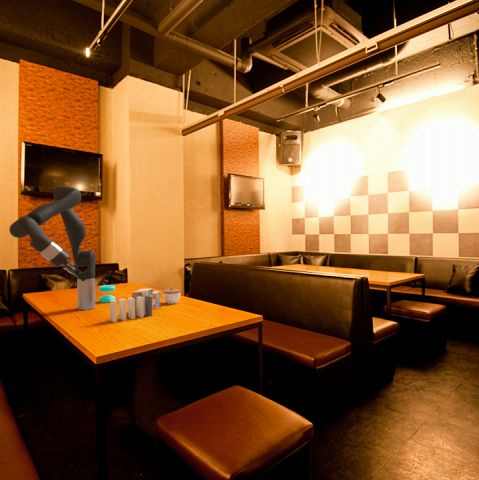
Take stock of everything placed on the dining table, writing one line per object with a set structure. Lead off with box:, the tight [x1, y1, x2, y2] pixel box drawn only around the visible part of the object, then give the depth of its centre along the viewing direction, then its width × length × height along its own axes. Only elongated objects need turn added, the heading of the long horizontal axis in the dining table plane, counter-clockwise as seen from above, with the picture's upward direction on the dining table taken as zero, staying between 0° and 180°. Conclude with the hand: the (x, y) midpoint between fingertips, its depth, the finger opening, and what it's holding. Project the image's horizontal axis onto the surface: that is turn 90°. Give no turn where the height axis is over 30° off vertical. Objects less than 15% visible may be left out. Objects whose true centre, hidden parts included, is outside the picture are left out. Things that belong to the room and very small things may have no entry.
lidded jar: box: [162, 287, 181, 305], centre depth 205 cm, size 11×11×9 cm
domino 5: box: [144, 295, 153, 317], centre depth 172 cm, size 5×2×10 cm, turn 39°
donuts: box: [98, 284, 116, 304], centre depth 211 cm, size 10×10×10 cm
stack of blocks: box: [131, 288, 161, 316], centre depth 183 cm, size 21×6×12 cm, turn 169°
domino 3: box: [127, 297, 136, 320], centre depth 166 cm, size 5×2×10 cm, turn 39°
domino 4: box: [136, 296, 145, 318], centre depth 169 cm, size 5×2×10 cm, turn 39°
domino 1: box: [109, 299, 118, 323], centre depth 160 cm, size 5×2×10 cm, turn 39°
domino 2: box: [118, 298, 127, 322], centre depth 163 cm, size 5×2×10 cm, turn 39°
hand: (84, 279), depth 152 cm, fingers closed
